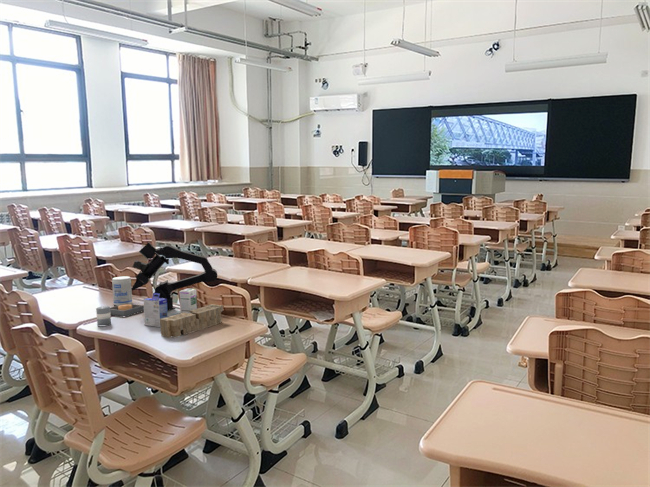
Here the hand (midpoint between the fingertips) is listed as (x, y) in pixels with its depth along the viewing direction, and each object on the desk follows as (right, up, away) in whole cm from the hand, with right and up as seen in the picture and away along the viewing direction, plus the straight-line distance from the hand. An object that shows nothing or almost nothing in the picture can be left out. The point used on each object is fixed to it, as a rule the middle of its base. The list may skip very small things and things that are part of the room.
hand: (133, 287), depth 249 cm
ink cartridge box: (+20, -15, -23) cm, 34 cm away
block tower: (+39, -16, -30) cm, 52 cm away
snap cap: (-4, -12, 0) cm, 13 cm away
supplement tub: (-13, -11, +20) cm, 26 cm away
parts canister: (-5, -15, -21) cm, 26 cm away
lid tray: (-4, -13, 0) cm, 13 cm away
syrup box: (+33, -14, -15) cm, 39 cm away
